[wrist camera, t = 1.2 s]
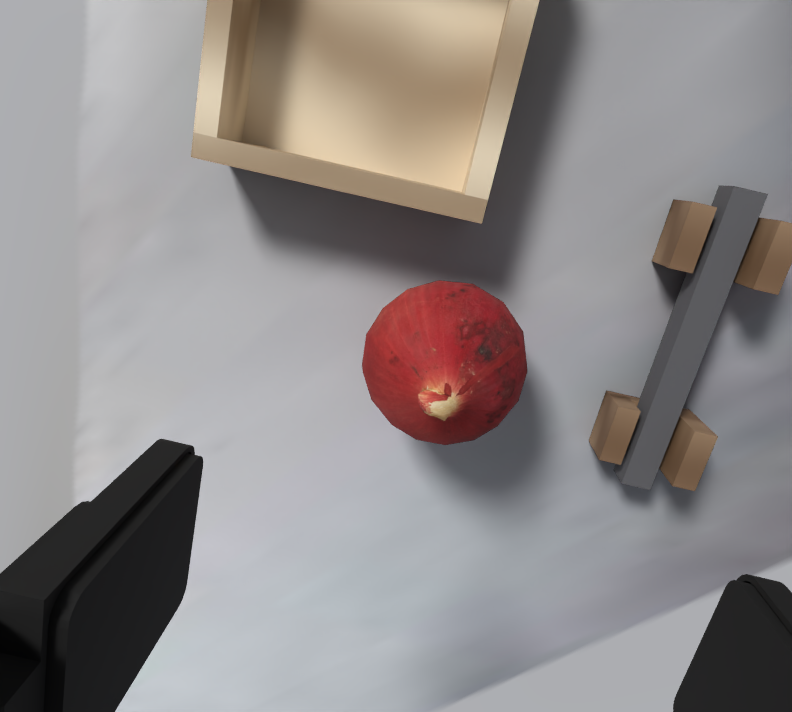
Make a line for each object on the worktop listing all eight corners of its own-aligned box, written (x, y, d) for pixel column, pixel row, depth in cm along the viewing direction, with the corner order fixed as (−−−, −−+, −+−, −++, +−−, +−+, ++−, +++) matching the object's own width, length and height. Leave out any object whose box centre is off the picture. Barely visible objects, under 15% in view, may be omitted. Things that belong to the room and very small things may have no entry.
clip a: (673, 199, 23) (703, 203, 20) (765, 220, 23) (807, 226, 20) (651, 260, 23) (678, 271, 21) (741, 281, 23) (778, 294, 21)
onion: (462, 237, 24) (472, 268, 16) (540, 350, 25) (584, 429, 17) (347, 319, 25) (307, 383, 17) (427, 423, 26) (421, 526, 19)
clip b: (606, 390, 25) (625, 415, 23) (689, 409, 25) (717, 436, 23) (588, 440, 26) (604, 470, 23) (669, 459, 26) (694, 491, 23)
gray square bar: (719, 185, 22) (734, 186, 21) (750, 193, 22) (768, 194, 21) (613, 469, 26) (621, 483, 24) (640, 475, 26) (650, 490, 24)
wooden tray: (263, -144, 20) (229, -206, 17) (550, -79, 20) (572, -128, 17) (226, 159, 23) (190, 157, 20) (475, 216, 23) (481, 223, 20)
